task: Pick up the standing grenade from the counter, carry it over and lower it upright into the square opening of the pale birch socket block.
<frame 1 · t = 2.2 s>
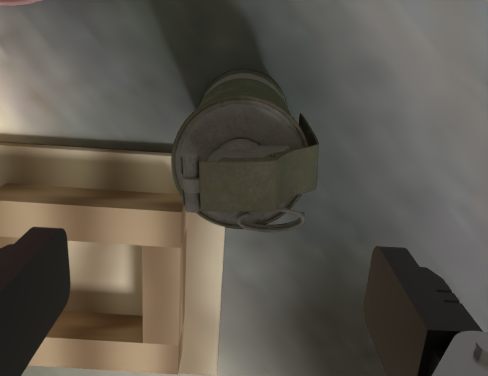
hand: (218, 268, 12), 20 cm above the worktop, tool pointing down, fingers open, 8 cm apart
socket block: (103, 264, 35), on the worktop
grenade: (246, 114, 32), on the worktop
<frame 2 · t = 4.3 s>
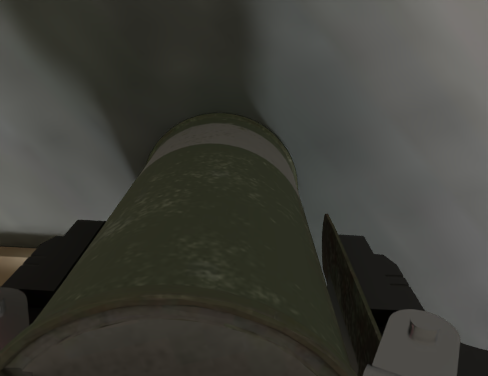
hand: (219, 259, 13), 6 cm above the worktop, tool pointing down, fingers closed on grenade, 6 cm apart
grenade: (225, 187, 18), on the worktop, touching gripper
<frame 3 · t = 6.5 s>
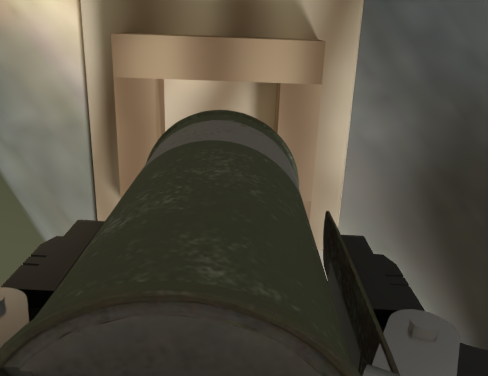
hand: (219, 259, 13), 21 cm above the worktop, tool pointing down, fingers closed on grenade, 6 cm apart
socket block: (220, 128, 33), on the worktop
grenade: (226, 185, 18), point 15 cm above the worktop, touching gripper
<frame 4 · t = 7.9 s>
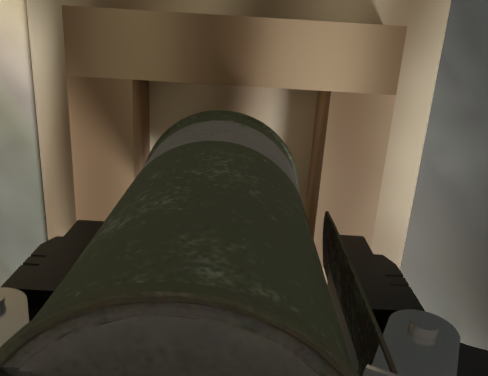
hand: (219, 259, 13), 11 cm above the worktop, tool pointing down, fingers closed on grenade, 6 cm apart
socket block: (230, 153, 23), on the worktop
grenade: (226, 185, 18), point 5 cm above the worktop, touching gripper
when the fingers open (8 cm above the worktop, at t = 9.0 s): grenade drops 1 cm, resting on socket block.
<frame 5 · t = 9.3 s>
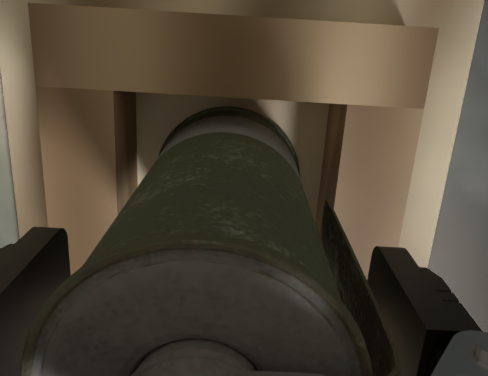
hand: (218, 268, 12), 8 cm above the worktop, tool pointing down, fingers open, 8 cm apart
socket block: (229, 172, 20), on the worktop
grenade: (232, 177, 20), point 1 cm above the worktop, touching socket block
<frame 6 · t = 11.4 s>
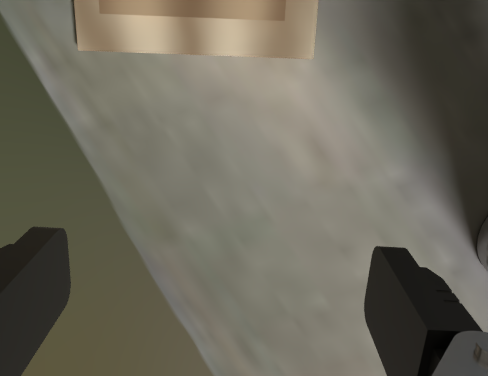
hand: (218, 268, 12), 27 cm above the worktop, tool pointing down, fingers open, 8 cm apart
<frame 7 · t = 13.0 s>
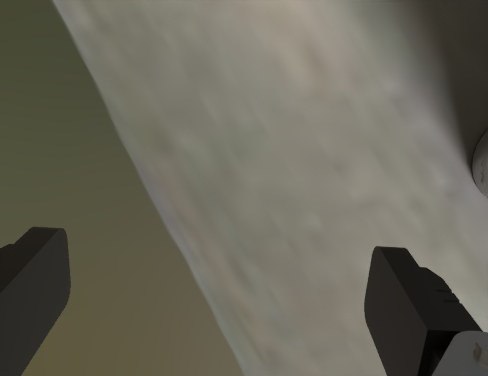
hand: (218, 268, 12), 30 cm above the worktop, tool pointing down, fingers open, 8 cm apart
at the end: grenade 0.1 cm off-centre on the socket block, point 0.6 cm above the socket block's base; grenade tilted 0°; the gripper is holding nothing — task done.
